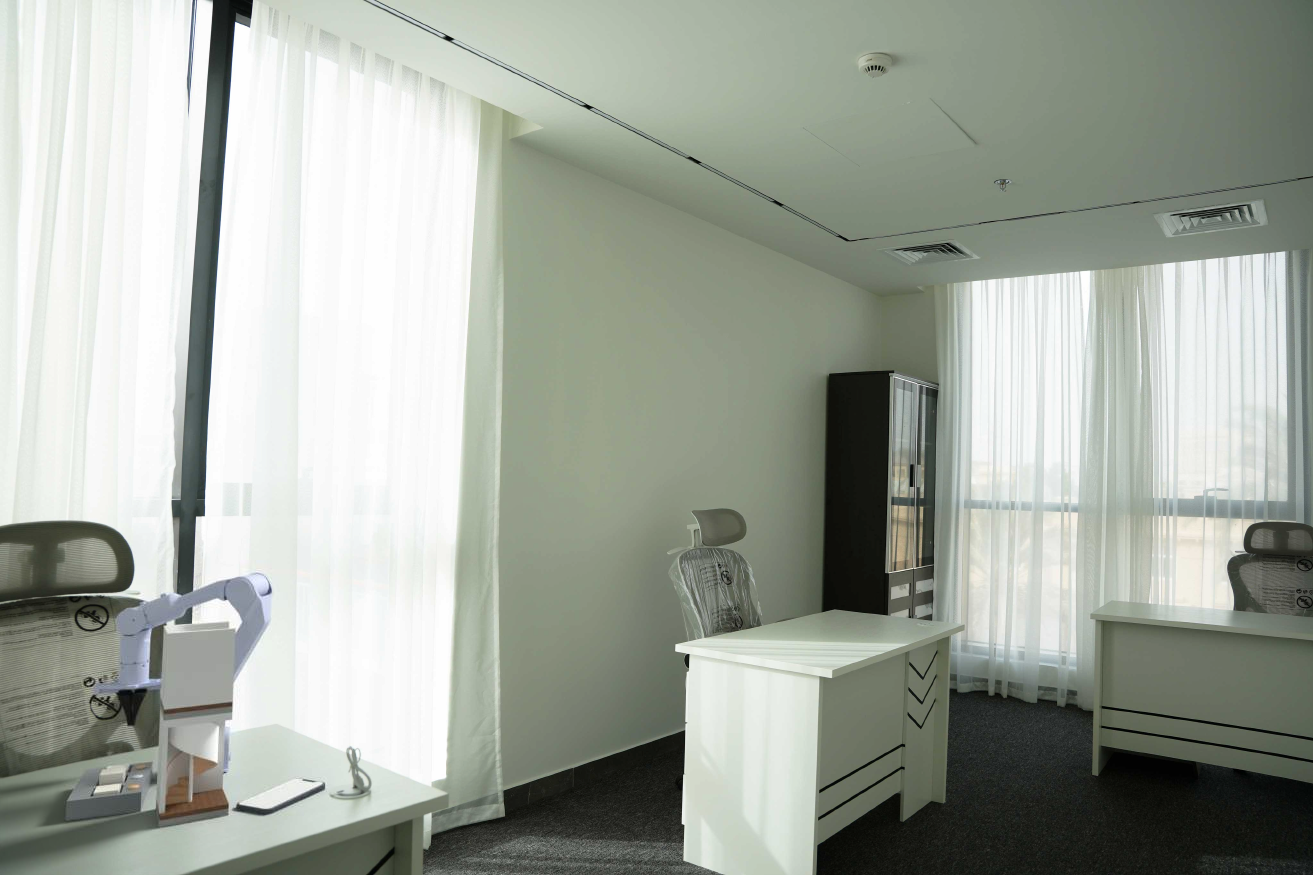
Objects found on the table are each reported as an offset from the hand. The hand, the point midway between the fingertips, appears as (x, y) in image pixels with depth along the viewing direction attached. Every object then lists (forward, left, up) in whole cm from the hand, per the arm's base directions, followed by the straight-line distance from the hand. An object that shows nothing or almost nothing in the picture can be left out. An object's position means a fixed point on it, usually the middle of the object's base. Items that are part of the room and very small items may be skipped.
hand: (131, 724), depth 187 cm
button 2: (+1, +12, -9) cm, 15 cm away
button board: (+1, +18, -10) cm, 21 cm away
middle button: (+1, +18, -7) cm, 20 cm away
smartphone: (-30, +31, -11) cm, 45 cm away
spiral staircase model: (-14, +32, -10) cm, 36 cm away
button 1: (+1, +24, -9) cm, 26 cm away
